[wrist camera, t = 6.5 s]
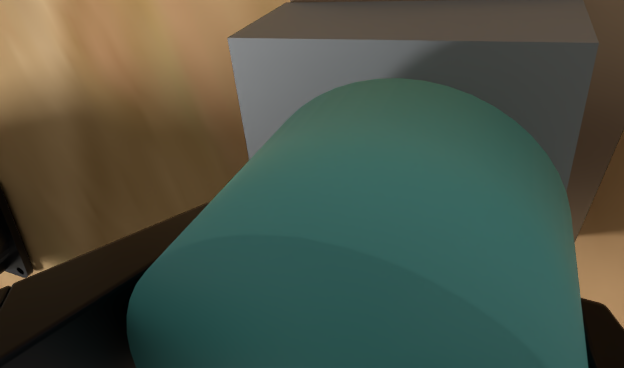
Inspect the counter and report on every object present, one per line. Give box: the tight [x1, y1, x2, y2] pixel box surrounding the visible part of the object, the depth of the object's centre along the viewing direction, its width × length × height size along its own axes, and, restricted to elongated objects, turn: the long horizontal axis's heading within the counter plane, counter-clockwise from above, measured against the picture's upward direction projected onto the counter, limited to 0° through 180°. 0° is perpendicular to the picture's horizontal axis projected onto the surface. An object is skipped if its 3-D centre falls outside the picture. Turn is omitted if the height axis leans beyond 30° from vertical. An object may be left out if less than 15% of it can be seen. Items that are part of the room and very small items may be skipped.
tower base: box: [291, 0, 624, 243], centre depth 14 cm, size 8×8×3 cm
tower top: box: [228, 0, 599, 191], centre depth 12 cm, size 6×6×3 cm
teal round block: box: [126, 78, 588, 368], centre depth 7 cm, size 6×6×4 cm
